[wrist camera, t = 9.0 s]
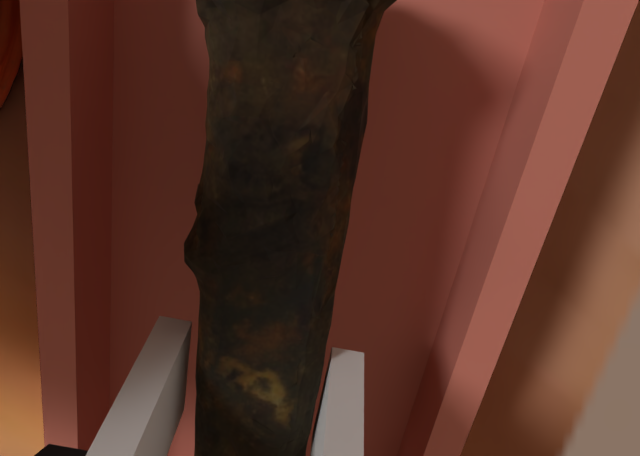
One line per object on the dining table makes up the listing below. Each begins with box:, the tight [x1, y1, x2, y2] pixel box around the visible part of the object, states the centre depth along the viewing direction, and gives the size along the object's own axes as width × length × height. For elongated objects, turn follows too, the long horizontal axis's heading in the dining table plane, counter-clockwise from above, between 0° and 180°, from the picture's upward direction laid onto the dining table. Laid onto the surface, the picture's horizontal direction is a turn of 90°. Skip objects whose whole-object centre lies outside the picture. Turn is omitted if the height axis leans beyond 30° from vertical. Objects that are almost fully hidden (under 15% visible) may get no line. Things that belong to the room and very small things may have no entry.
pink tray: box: [20, 0, 639, 456], centre depth 16 cm, size 26×12×4 cm, turn 170°
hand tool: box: [184, 0, 397, 456], centre depth 14 cm, size 19×4×5 cm, turn 171°
